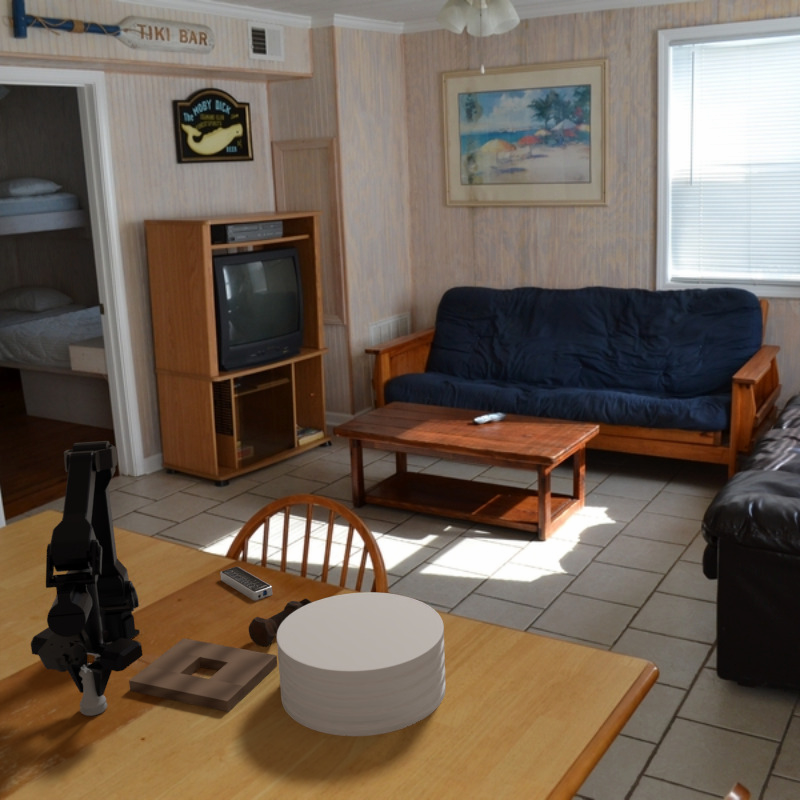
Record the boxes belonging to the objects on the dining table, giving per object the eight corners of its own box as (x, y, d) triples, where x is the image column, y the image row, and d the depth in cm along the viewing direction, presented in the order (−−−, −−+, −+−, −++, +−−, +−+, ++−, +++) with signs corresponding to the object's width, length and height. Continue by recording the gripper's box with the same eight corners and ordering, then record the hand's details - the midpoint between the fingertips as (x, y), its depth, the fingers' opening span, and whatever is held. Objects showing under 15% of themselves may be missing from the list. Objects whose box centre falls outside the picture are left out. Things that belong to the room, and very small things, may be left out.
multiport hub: (238, 575, 216) (237, 565, 216) (273, 596, 205) (272, 586, 205) (220, 581, 214) (219, 571, 213) (255, 602, 203) (254, 592, 202)
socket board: (130, 690, 170) (129, 680, 170) (184, 647, 184) (183, 638, 184) (228, 712, 162) (227, 701, 162) (277, 665, 176) (276, 655, 176)
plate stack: (464, 660, 176) (463, 601, 173) (416, 749, 150) (413, 681, 148) (321, 641, 185) (317, 585, 182) (252, 722, 159) (246, 658, 157)
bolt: (313, 623, 196) (262, 653, 184) (296, 607, 198) (244, 635, 186) (323, 603, 193) (272, 632, 181) (306, 586, 195) (254, 614, 183)
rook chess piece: (83, 703, 167) (77, 661, 165) (110, 701, 167) (104, 659, 165) (77, 718, 162) (71, 674, 160) (104, 716, 163) (99, 672, 161)
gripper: (-1, 621, 156) (13, 708, 160) (93, 639, 149) (105, 730, 153) (49, 592, 166) (60, 675, 170) (139, 607, 159) (149, 694, 163)
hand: (92, 693), depth 164 cm, fingers open, 3 cm apart
